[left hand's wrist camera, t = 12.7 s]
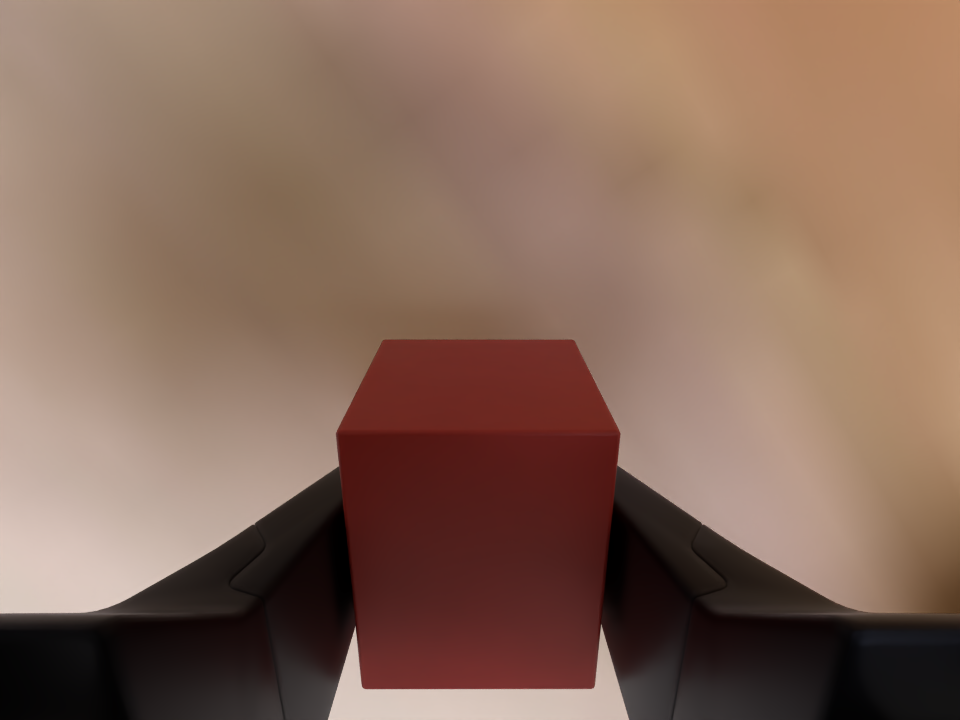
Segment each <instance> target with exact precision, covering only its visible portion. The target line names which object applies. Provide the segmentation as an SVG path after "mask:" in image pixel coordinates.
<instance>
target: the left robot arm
mask: <svg viewBox="0 0 960 720" xmlns="http://www.w3.org/2000/svg"><path fill="white" fill-rule="evenodd" d="M601 624H602V628H603V631H604V635H605V638H606V642H607V645H608V648H609V652H610V655H611V659H612V662H613V666H614V669H615V672H616V676H617V679H618V683H619V686H620V690H621V693H622V697H623V700H624V703H625V707H626V710H627V714H628V717H629V720H960V614H943V613H868V612H862V611H857V610H854V609H850V608H847V607H845V606H842V605H840V604H837V603H835V602H833V601H831V600H829V599H827V598H825V597H824V596H822V595H820V594H818V593H817V592H815V591H813V590H811V589H810V588H808V587H806V586H804V585H803V584H801V583H799V582H797V581H796V580H794V579H792V578H790V577H789V576H787V575H785V574H783V573H782V572H780V571H778V570H776V569H774V568H773V567H771V566H769V565H767V564H766V563H764V562H762V561H761V560H759V559H757V558H756V557H754V556H752V555H750V554H749V553H747V552H745V551H744V550H742V549H740V548H739V547H737V546H736V545H734V544H733V543H731V542H729V541H728V540H726V539H725V538H723V537H722V536H720V535H719V534H717V533H716V532H714V531H713V530H711V529H710V528H708V527H707V526H705V525H702V523H701V522H699V521H698V520H696V519H695V518H694V517H692V516H691V515H689V514H688V513H686V512H685V511H683V510H682V509H680V508H679V507H677V506H676V505H674V504H673V503H672V502H670V501H669V500H667V499H666V498H664V497H663V496H661V495H660V494H658V493H657V492H655V491H654V490H652V489H651V488H650V487H648V486H647V485H645V484H644V483H642V482H641V481H639V480H638V479H636V478H635V477H633V476H632V475H630V474H629V473H628V472H626V471H625V470H623V469H622V468H620V467H619V466H617V472H616V482H615V492H614V501H613V511H612V521H611V531H610V541H609V551H608V560H607V570H606V580H605V590H604V600H603V609H602V619H601ZM355 626H356V624H355V614H354V605H353V595H352V585H351V576H350V566H349V556H348V546H347V537H346V527H345V517H344V508H343V498H342V488H341V478H340V469H339V467H337V468H336V469H334V470H333V471H331V472H330V473H328V474H327V475H325V476H324V477H323V478H321V479H320V480H318V481H317V482H315V483H314V484H312V485H311V486H309V487H308V488H306V489H305V490H303V491H302V492H300V493H299V494H297V495H296V496H294V497H293V498H291V499H290V500H289V501H287V502H286V503H284V504H283V505H281V506H280V507H278V508H277V509H275V510H274V511H272V512H271V513H269V514H268V515H266V516H265V517H263V518H262V519H260V520H259V521H257V522H256V523H255V525H251V526H250V527H248V528H247V529H245V530H244V531H243V532H241V533H240V534H238V535H236V536H235V537H233V538H232V539H230V540H229V541H227V542H226V543H224V544H223V545H221V546H219V547H218V548H216V549H215V550H213V551H211V552H209V553H208V554H206V555H204V556H203V557H201V558H199V559H198V560H196V561H194V562H192V563H191V564H189V565H187V566H185V567H184V568H182V569H180V570H178V571H177V572H175V573H173V574H171V575H169V576H168V577H166V578H164V579H162V580H161V581H159V582H157V583H155V584H154V585H152V586H150V587H148V588H147V589H145V590H143V591H141V592H139V593H138V594H136V595H134V596H132V597H131V598H129V599H127V600H125V601H123V602H121V603H119V604H116V605H114V606H111V607H109V608H105V609H102V610H98V611H94V612H87V613H12V614H0V720H328V717H329V714H330V710H331V707H332V704H333V700H334V697H335V693H336V690H337V687H338V683H339V680H340V676H341V673H342V670H343V666H344V663H345V659H346V656H347V653H348V649H349V646H350V643H351V639H352V636H353V632H354V629H355Z"/></svg>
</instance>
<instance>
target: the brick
mask: <svg viewBox="0 0 960 720" xmlns="http://www.w3.org/2000/svg"><path fill="white" fill-rule="evenodd" d="M336 440H337V449H338V459H339V469H340V478H341V488H342V498H343V508H344V517H345V527H346V537H347V546H348V556H349V566H350V576H351V585H352V595H353V605H354V614H355V624H356V634H357V644H358V653H359V663H360V673H361V682H362V687H363V688H364V689H592V688H594V686H595V678H596V668H597V659H598V649H599V639H600V629H601V619H602V609H603V600H604V590H605V580H606V570H607V560H608V551H609V541H610V531H611V521H612V511H613V501H614V492H615V482H616V472H617V462H618V452H619V442H620V432H619V429H618V427H617V425H616V423H615V421H614V419H613V417H612V415H611V413H610V411H609V409H608V407H607V405H606V403H605V401H604V399H603V397H602V395H601V393H600V391H599V389H598V387H597V385H596V383H595V381H594V379H593V377H592V375H591V373H590V371H589V369H588V367H587V365H586V363H585V361H584V359H583V357H582V355H581V353H580V351H579V349H578V347H577V345H576V343H575V341H574V340H383V341H382V343H381V345H380V347H379V349H378V351H377V353H376V355H375V357H374V359H373V361H372V363H371V365H370V367H369V369H368V371H367V373H366V375H365V377H364V379H363V381H362V383H361V385H360V387H359V389H358V391H357V393H356V394H355V396H354V398H353V400H352V402H351V404H350V406H349V408H348V410H347V412H346V414H345V416H344V418H343V420H342V422H341V424H340V426H339V428H338V430H337V432H336Z"/></svg>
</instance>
